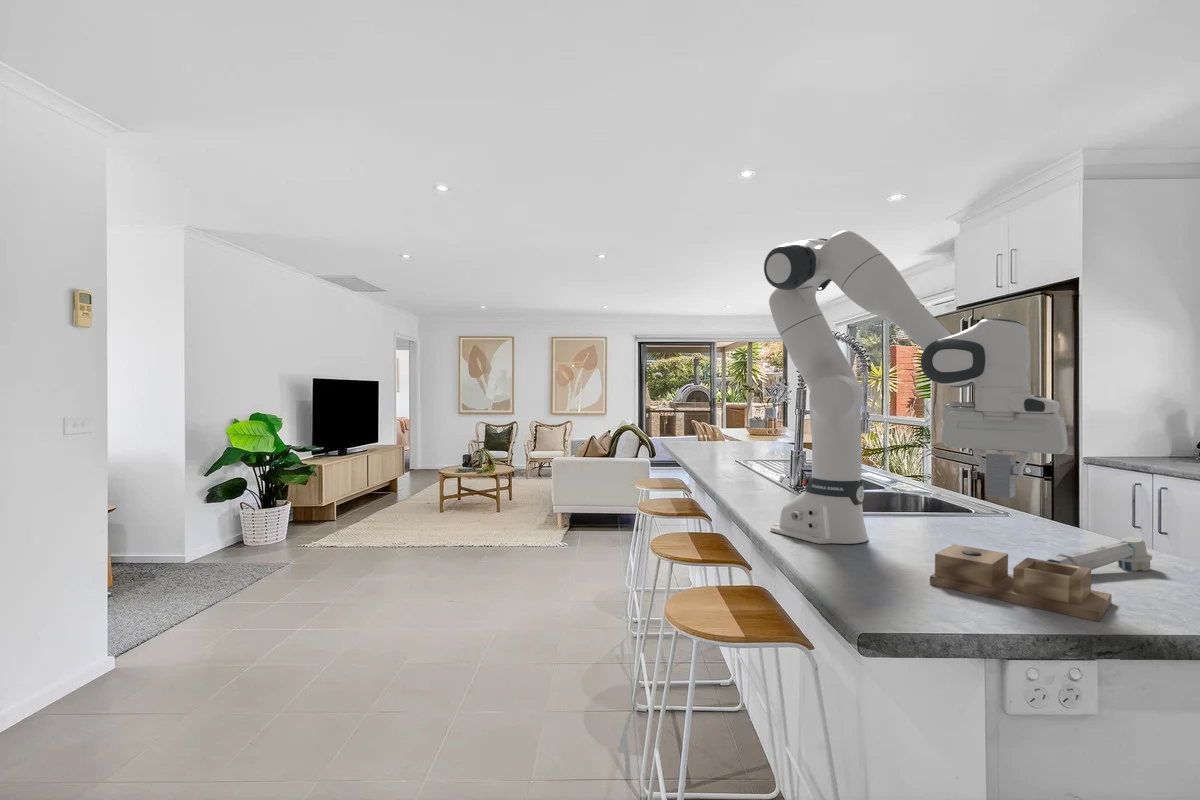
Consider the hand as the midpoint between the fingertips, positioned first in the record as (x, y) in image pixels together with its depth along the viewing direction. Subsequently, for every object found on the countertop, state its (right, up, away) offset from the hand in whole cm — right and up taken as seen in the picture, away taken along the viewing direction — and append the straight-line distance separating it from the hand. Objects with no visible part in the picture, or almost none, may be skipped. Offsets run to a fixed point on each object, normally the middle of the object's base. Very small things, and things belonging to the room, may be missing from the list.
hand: (1000, 474), depth 117 cm
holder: (-5, -19, -11) cm, 23 cm away
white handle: (+20, -20, +1) cm, 28 cm away
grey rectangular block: (0, -4, 0) cm, 4 cm away
